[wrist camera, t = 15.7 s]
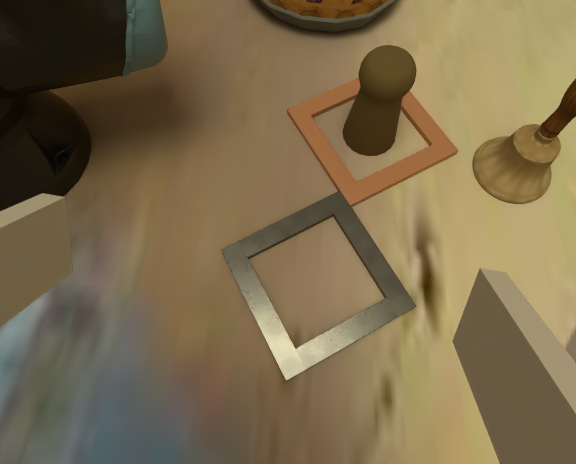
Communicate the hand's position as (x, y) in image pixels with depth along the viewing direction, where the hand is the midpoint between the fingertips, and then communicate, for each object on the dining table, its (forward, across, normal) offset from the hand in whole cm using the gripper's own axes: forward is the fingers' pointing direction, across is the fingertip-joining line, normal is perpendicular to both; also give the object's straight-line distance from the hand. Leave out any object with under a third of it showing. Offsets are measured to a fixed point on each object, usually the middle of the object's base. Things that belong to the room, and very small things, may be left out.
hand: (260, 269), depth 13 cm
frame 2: (+23, +2, -14) cm, 27 cm away
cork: (+36, +6, -1) cm, 37 cm away
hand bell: (+35, +22, -2) cm, 41 cm away
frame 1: (+36, +6, -1) cm, 37 cm away
